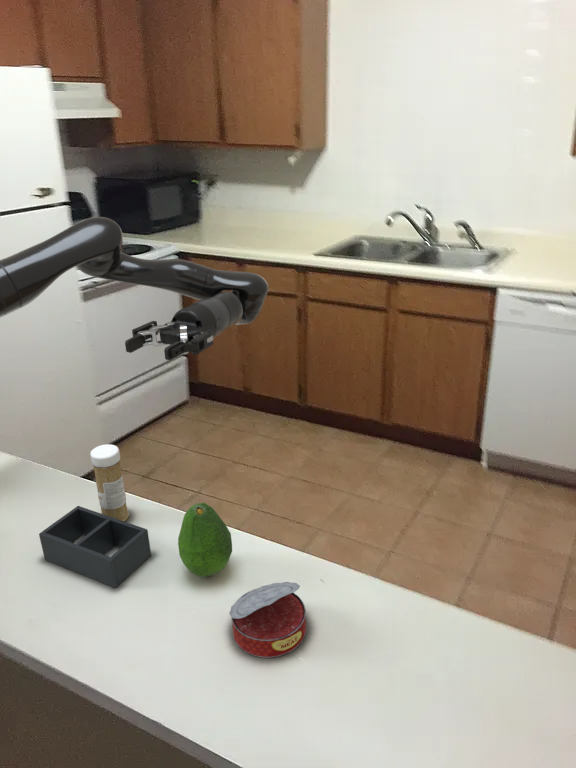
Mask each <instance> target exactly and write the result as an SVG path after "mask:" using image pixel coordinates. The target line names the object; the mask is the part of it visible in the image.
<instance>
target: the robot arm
mask: <svg viewBox="0 0 576 768" xmlns="http://www.w3.org/2000/svg"><path fill="white" fill-rule="evenodd" d="M123 242H124V236H123V231H122V228H121V226H120V225H119V224H118V223H117V222H116V221H115V220H113V219H111V218H109V217H105V216H92V217H88V218H84V219H83V220H80V221H79V222H76V223H74V224H73V225H71V226H69V227H67V228H66V229H64V230H61V232H58V233H57V234H55V235H53V236H51V237H49V238H47V239H45V240H43V241H41V242H40V243H39V242H38V243H37V244H34V245H31V246H29V247H28V248H25V249H23V250H20V251H19V252H17V253H13V254H12V255H10V256H7V257H5V258H2V259H0V318H3V317H5V316H8V315H10V314H11V313H14V312H15V311H18V310H20V309H22V308H24V307H25V306H27V305H29V304H30V303H32V302H33V301H34V300H36V299H37V298H38V297H39V296H40V295H42V294H43V293H44V292H45V291H46V290H47V289H48V288H49V287H50V286H51V285H52V284H53V283H54V282H55V281H56V280H57V279H59V278H60V277H61V276H62V275H63V274H65V273H66V272H68V271H70V270H72V269H74V268H77V269H78V270H79V271H80V272H81V273H83V274H85V275H87V276H90V277H93V278H97V279H102V280H109V281H116V282H121V283H127V284H132V285H138V286H139V285H140V286H145V287H150V288H155V289H160V290H163V291H169V292H172V293H175V294H179V295H181V296H184V297H188V298H192V299H194V300H198V301H196V302H194V303H191V304H190V305H188V306H185V307H183V308H181V309H179V310H178V311H176V312H175V313H174V315H173V317H172V318H171V321H170V322H169V321H168V322H165V323H164V324H160V325H159V324H158V321H156V320H151V321H148V322H147V323H144V324H142V325H140V326H137V327H135V328H132V329H131V333H132V337H130V338H128V339H126V340H125V341H124V346H125V352H126V353H129V354H130V353H131V354H132V353H134V352H135V351H137V350H139V349H141V348H144V347H145V346H153V347H162V346H166V345H167V346H166V347H165V348H164V350H163V351H164V359H165V360H166V361H172V360H174V359H176V358H178V357H179V356H181V355H188V354H189V353H192V355H196V356H197V355H200V354H201V353H203V352H204V351H206V350H207V349H209V348H210V347H211V346H213V345H214V339H215V338H217V337H218V336H220V335H221V334H223V332H224V331H226V330H228V329H229V328H232V327H233V326H241V325H242V326H243V325H249V324H252V323H254V321H256V319H258V317H259V315H260V312H261V310H262V308H263V306H264V303H265V300H266V298H267V296H268V293H269V284H268V282H267V281H266V279H265V278H264V277H262V276H261V275H259V273H258V274H257V273H256V272H252V271H239V270H238V271H236V270H226V269H225V270H223V269H216V268H212V267H209V266H207V265H204V264H201V263H197V262H194V261H192V260H191V261H190V260H186V259H180V258H178V259H177V258H170V259H169V258H168V259H147V258H146V259H144V258H139V257H135V256H132V255H130V254H127V253H126V252H123V251H122V250H123ZM158 335H159V338H160V339H159V340H157V339H158V338H157V336H158Z"/></svg>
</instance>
